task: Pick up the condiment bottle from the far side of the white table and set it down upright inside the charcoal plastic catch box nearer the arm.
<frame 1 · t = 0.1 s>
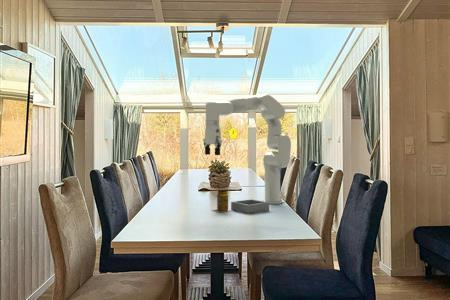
hand: (212, 154, 225), 31 cm above the table, tool pointing down, fingers open, 9 cm apart
condiment: (221, 211, 224), on the table
catch box: (249, 210, 226), on the table
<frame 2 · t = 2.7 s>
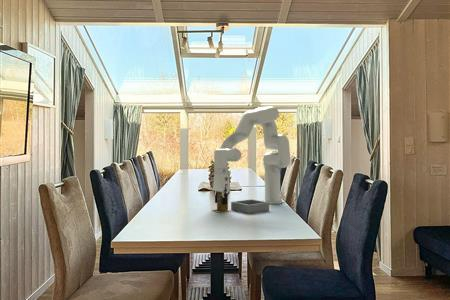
hand: (221, 203, 224), 4 cm above the table, tool pointing down, fingers closed on condiment, 6 cm apart
condiment: (221, 211, 224), on the table, touching gripper
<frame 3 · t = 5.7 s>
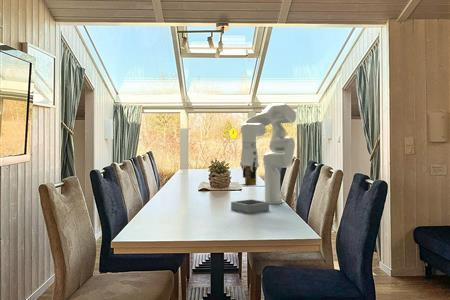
hand: (249, 177, 226), 18 cm above the table, tool pointing down, fingers closed on condiment, 6 cm apart
condiment: (249, 185, 226), point 14 cm above the table, touching gripper
when the fingers open (6 cm above the table, at t = 8.6 s): condiment drops 1 cm, resting on catch box.
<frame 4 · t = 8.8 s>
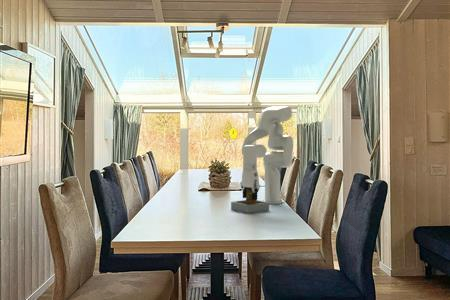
hand: (249, 198, 226), 6 cm above the table, tool pointing down, fingers open, 7 cm apart
condiment: (250, 209, 226), resting on catch box
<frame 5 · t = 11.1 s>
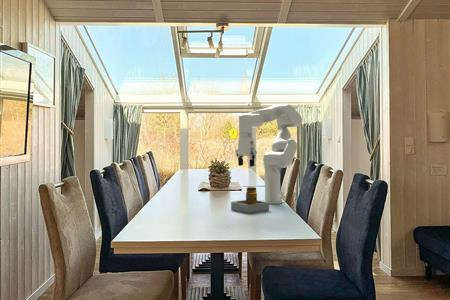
hand: (246, 165, 231), 24 cm above the table, tool pointing down, fingers open, 9 cm apart
nothing on the table moved.
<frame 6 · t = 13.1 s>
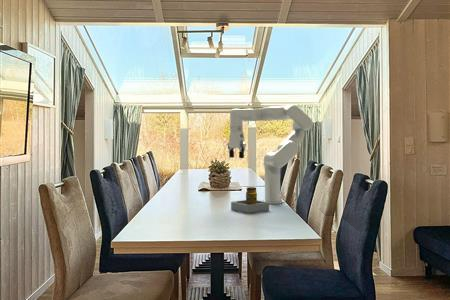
hand: (236, 157, 245), 28 cm above the table, tool pointing down, fingers open, 9 cm apart
nothing on the table moved.
at the end: condiment inside the target area on the catch box (0.3 cm from its centre), point 0.4 cm above the catch box's base; condiment tilted 0°; the gripper is holding nothing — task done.
